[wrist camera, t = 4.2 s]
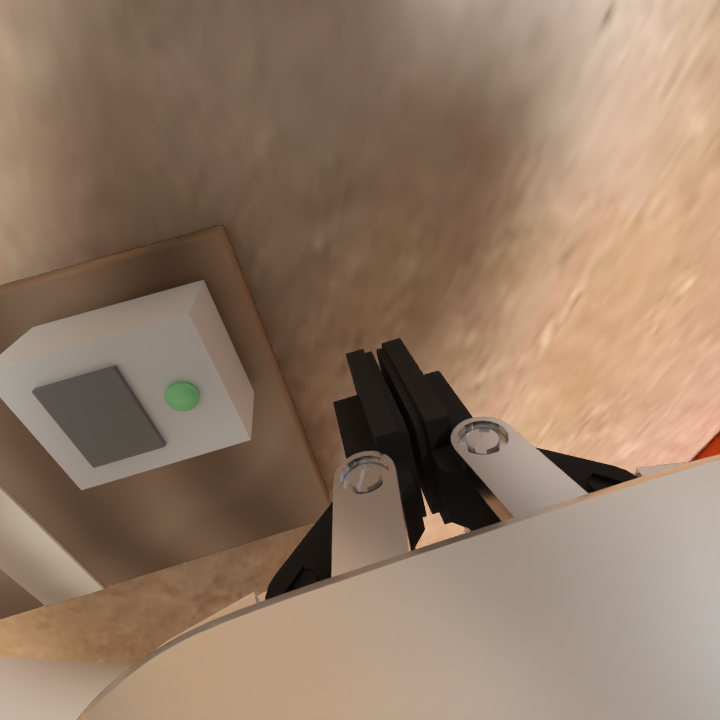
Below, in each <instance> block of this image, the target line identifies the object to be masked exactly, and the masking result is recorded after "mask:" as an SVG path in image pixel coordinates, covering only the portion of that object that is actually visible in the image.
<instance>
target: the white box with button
mask: <svg viewBox="0 0 720 720" xmlns="http://www.w3.org/2000/svg"><path fill="white" fill-rule="evenodd" d="M0 398H1V399H2V400H3V401H4V402H5V403H6V405H7V406H8V407H9V408H10V409H11V410H12V411H13V413H14V414H15V415H16V416H17V417H18V418H19V419H20V421H21V422H22V423H23V424H24V425H25V426H26V427H27V429H28V430H29V431H30V432H31V433H32V434H33V435H34V437H35V438H36V439H37V440H38V441H39V442H40V444H41V445H42V446H43V447H44V448H45V449H46V450H47V452H48V453H49V454H50V455H51V456H52V457H53V458H54V460H55V461H56V462H57V463H58V464H59V465H60V466H61V468H62V469H63V470H64V471H65V472H66V473H67V474H68V476H69V477H70V478H71V479H72V480H73V481H74V482H75V484H76V485H77V486H78V487H79V488H80V489H81V490H84V489H88V488H91V487H94V486H98V485H101V484H104V483H108V482H111V481H115V480H118V479H121V478H125V477H128V476H131V475H135V474H138V473H141V472H145V471H148V470H152V469H155V468H158V467H162V466H165V465H168V464H172V463H175V462H178V461H182V460H185V459H189V458H192V457H195V456H199V455H202V454H205V453H209V452H212V451H215V450H219V449H222V448H226V447H229V446H232V445H236V444H239V443H242V442H246V441H249V440H251V432H252V417H253V402H254V391H253V388H252V386H251V384H250V382H249V379H248V377H247V375H246V373H245V371H244V368H243V366H242V364H241V362H240V359H239V357H238V355H237V353H236V351H235V348H234V346H233V344H232V342H231V339H230V337H229V335H228V333H227V330H226V328H225V326H224V324H223V322H222V319H221V317H220V315H219V313H218V310H217V308H216V306H215V304H214V302H213V299H212V297H211V295H210V293H209V290H208V288H207V286H206V284H205V281H204V280H201V281H197V282H194V283H190V284H186V285H183V286H179V287H176V288H172V289H168V290H165V291H161V292H158V293H154V294H150V295H147V296H143V297H140V298H136V299H132V300H129V301H125V302H122V303H118V304H114V305H111V306H107V307H103V308H100V309H96V310H93V311H89V312H85V313H82V314H78V315H75V316H71V317H67V318H64V319H60V320H57V321H53V322H49V323H46V324H42V325H39V326H35V327H32V328H31V329H30V330H29V331H27V332H26V333H25V334H24V335H23V336H21V337H20V338H19V339H18V340H17V341H16V342H14V343H13V344H12V345H11V346H10V347H9V348H7V349H6V350H5V351H4V352H3V353H1V354H0Z"/></svg>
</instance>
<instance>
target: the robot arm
mask: <svg viewBox="0 0 720 720" xmlns="http://www.w3.org/2000/svg"><path fill="white" fill-rule="evenodd" d="M377 356H378V360H379V364H380V368H381V371H380V368H379V366H378V364H377V362H376V360H375V358H374V356H373V354H372V352H367V353H365V352H364V350H363V349H361V350H357V351H354V352H351V353H347V354H346V357H347V361H348V364H349V368H350V371H351V375H352V378H353V382H354V385H355V389H356V392H357V395H355V396H352V397H349V398H345V399H342V400H339V401H335V402H334V408H335V412H336V416H337V420H338V425H339V429H340V433H341V438H342V442H343V446H344V450H345V455H346V459H345V460H344V461H343V462H342V463H341V464H340V465H339V467H338V468H337V470H336V471H335V475H334V479H333V502H332V503H331V504H330V506H329V507H328V508H327V509H326V511H325V512H324V513H323V514H322V516H321V517H320V518H319V520H318V521H317V522H316V523H315V525H314V526H313V527H312V529H311V530H310V531H309V532H308V534H307V535H306V536H305V538H304V539H303V540H302V541H301V543H300V544H299V545H298V546H297V548H296V549H295V550H294V552H293V553H292V554H291V555H290V557H289V558H288V559H287V561H286V562H285V563H284V564H283V566H282V567H281V568H280V569H279V571H278V572H277V573H276V575H275V576H274V578H273V579H272V581H271V583H270V584H269V586H268V590H267V591H265V592H263V593H261V594H259V595H258V596H256V594H255V593H254V592H252V593H250V594H249V595H247V596H245V597H243V598H241V599H240V600H238V601H236V602H234V603H233V604H231V605H229V606H227V607H225V608H224V609H222V610H220V611H218V612H217V613H215V614H213V615H211V616H209V617H208V618H206V619H204V620H202V621H201V622H199V623H197V624H195V625H193V626H192V627H190V628H188V629H186V630H185V631H183V632H181V633H179V634H177V635H176V636H174V637H172V638H170V639H169V640H167V641H166V642H164V643H163V644H162V645H160V646H159V647H158V648H156V650H154V651H153V652H151V653H150V654H149V655H147V656H146V657H144V658H143V659H142V660H140V661H139V662H138V663H136V664H135V665H134V666H132V667H131V668H129V669H128V670H127V671H125V672H124V673H123V674H121V675H120V676H119V677H118V678H117V679H116V680H114V681H113V682H112V683H111V684H110V685H109V686H108V687H107V688H106V689H104V690H103V691H102V692H101V693H100V694H99V695H98V696H97V697H96V698H95V699H94V700H93V701H92V702H91V703H90V705H89V706H88V707H87V708H86V709H85V711H83V713H82V714H81V715H80V716H79V717H78V719H77V720H720V454H719V455H715V456H711V457H707V458H703V459H699V460H696V461H691V462H682V463H673V464H665V465H656V466H647V467H638V468H636V473H630V472H628V471H627V470H624V469H621V468H618V467H615V466H612V465H607V464H603V463H599V462H595V461H591V460H586V459H582V458H578V457H574V456H569V455H565V454H561V453H557V452H552V451H548V450H544V449H540V448H536V447H534V446H533V445H532V444H531V443H529V442H528V441H527V440H526V439H525V438H524V437H523V436H521V435H520V434H519V433H518V432H517V431H516V430H514V429H513V428H512V427H511V426H510V425H508V424H507V423H505V422H504V421H502V420H499V419H496V418H493V417H484V416H483V417H472V416H471V414H470V413H469V412H468V410H467V409H466V407H465V406H464V405H463V403H462V402H461V401H460V399H459V398H458V396H457V395H456V394H455V392H454V391H453V389H452V388H451V387H450V385H449V384H448V383H447V381H446V380H445V378H444V377H443V376H442V374H441V373H440V372H439V371H435V372H431V373H428V374H425V375H423V373H422V372H421V370H420V369H419V367H418V365H417V364H416V362H415V361H414V359H413V358H412V356H411V355H410V353H409V352H408V350H407V348H406V347H405V345H404V344H403V342H402V341H401V339H400V338H398V339H395V340H391V341H388V342H385V343H382V348H381V349H377ZM421 489H422V492H423V494H424V496H425V499H426V501H427V503H428V506H429V508H430V510H431V512H432V514H435V513H438V512H439V513H440V515H441V517H442V519H443V522H444V524H448V523H451V522H453V523H455V524H458V525H461V526H463V527H464V531H465V534H462V535H458V536H455V537H452V538H449V539H446V540H443V541H440V542H437V543H434V544H431V545H428V546H425V547H422V548H419V549H416V547H415V546H416V545H417V543H418V541H419V539H420V537H421V536H422V534H423V532H424V530H425V527H424V522H423V518H422V517H425V516H426V510H425V506H424V501H423V497H422V492H421Z"/></svg>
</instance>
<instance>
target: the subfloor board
mask: <svg viewBox="0 0 720 720" xmlns="http://www.w3.org/2000/svg"><path fill="white" fill-rule="evenodd" d="M201 280H204V281H205V284H206V286H207V288H208V290H209V293H210V295H211V297H212V299H213V302H214V304H215V306H216V308H217V310H218V313H219V315H220V317H221V319H222V322H223V324H224V326H225V328H226V330H227V333H228V335H229V337H230V339H231V342H232V344H233V346H234V348H235V351H236V353H237V355H238V357H239V359H240V362H241V364H242V366H243V368H244V371H245V373H246V375H247V377H248V379H249V382H250V384H251V386H252V388H253V391H254V402H253V417H252V432H251V440H249V441H246V442H242V443H239V444H236V445H232V446H229V447H226V448H222V449H219V450H215V451H212V452H209V453H205V454H202V455H199V456H195V457H192V458H189V459H185V460H182V461H178V462H175V463H172V464H168V465H165V466H162V467H158V468H155V469H152V470H148V471H145V472H141V473H138V474H135V475H131V476H128V477H125V478H121V479H118V480H115V481H111V482H108V483H104V484H101V485H98V486H94V487H91V488H88V489H84V490H81V489H80V488H79V487H78V486H77V485H76V484H75V482H74V481H73V480H72V479H71V478H70V477H69V476H68V474H67V473H66V472H65V471H64V470H63V469H62V468H61V466H60V465H59V464H58V463H57V462H56V461H55V460H54V458H53V457H52V456H51V455H50V454H49V453H48V452H47V450H46V449H45V448H44V447H43V446H42V445H41V444H40V442H39V441H38V440H37V439H36V438H35V437H34V435H33V434H32V433H31V432H30V431H29V430H28V429H27V427H26V426H25V425H24V424H23V423H22V422H21V421H20V419H19V418H18V417H17V416H16V415H15V414H14V413H13V411H12V410H11V409H10V408H9V407H8V406H7V405H6V403H5V402H4V401H3V400H2V399H1V398H0V619H3V618H6V617H9V616H12V615H16V614H19V613H22V612H25V611H28V610H32V609H35V608H38V607H41V606H46V607H48V606H51V605H54V604H58V603H61V602H64V601H67V600H70V599H74V598H77V597H80V596H83V595H87V594H90V593H93V592H96V591H100V590H103V589H104V587H106V586H109V585H113V584H116V583H119V582H122V581H126V580H129V579H132V578H135V577H139V576H142V575H145V574H148V573H152V572H155V571H158V570H161V569H164V568H168V567H171V566H174V565H177V564H181V563H184V562H187V561H190V560H194V559H197V558H200V557H203V556H207V555H210V554H213V553H216V552H219V551H223V550H226V549H229V548H232V547H236V546H239V545H242V544H245V543H249V542H252V541H255V540H258V539H262V538H265V537H268V536H271V535H275V534H278V533H281V532H284V531H287V530H291V529H294V528H297V527H300V526H304V525H307V524H310V523H313V522H317V521H318V520H319V518H320V517H321V516H322V514H323V513H324V512H325V511H326V509H327V508H328V507H329V506H330V497H329V493H328V491H327V488H326V486H325V483H324V481H323V478H322V476H321V473H320V471H319V468H318V465H317V463H316V460H315V458H314V455H313V453H312V450H311V448H310V445H309V442H308V440H307V437H306V435H305V432H304V430H303V427H302V425H301V422H300V420H299V417H298V414H297V412H296V409H295V407H294V404H293V402H292V399H291V397H290V394H289V391H288V389H287V386H286V384H285V381H284V379H283V376H282V374H281V371H280V369H279V366H278V363H277V361H276V358H275V356H274V353H273V351H272V348H271V346H270V343H269V340H268V338H267V335H266V333H265V330H264V328H263V325H262V323H261V320H260V318H259V315H258V312H257V310H256V307H255V305H254V302H253V300H252V297H251V295H250V292H249V289H248V287H247V284H246V282H245V279H244V277H243V274H242V272H241V269H240V267H239V264H238V261H237V259H236V256H235V254H234V251H233V249H232V246H231V244H230V241H229V238H228V236H227V233H226V231H225V228H224V226H223V225H221V226H217V227H213V228H210V229H206V230H202V231H199V232H195V233H191V234H188V235H184V236H180V237H176V238H173V239H169V240H165V241H162V242H158V243H154V244H151V245H147V246H143V247H140V248H136V249H132V250H129V251H125V252H121V253H118V254H114V255H110V256H107V257H103V258H99V259H96V260H92V261H88V262H85V263H81V264H77V265H73V266H70V267H66V268H62V269H59V270H55V271H51V272H48V273H44V274H40V275H37V276H33V277H29V278H26V279H22V280H18V281H15V282H11V283H7V284H4V285H0V354H1V353H3V352H4V351H5V350H6V349H7V348H9V347H10V346H11V345H12V344H13V343H14V342H16V341H17V340H18V339H19V338H20V337H21V336H23V335H24V334H25V333H26V332H27V331H29V330H30V329H31V328H32V327H35V326H39V325H42V324H46V323H49V322H53V321H57V320H60V319H64V318H67V317H71V316H75V315H78V314H82V313H85V312H89V311H93V310H96V309H100V308H103V307H107V306H111V305H114V304H118V303H122V302H125V301H129V300H132V299H136V298H140V297H143V296H147V295H150V294H154V293H158V292H161V291H165V290H168V289H172V288H176V287H179V286H183V285H186V284H190V283H194V282H197V281H201Z"/></svg>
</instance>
